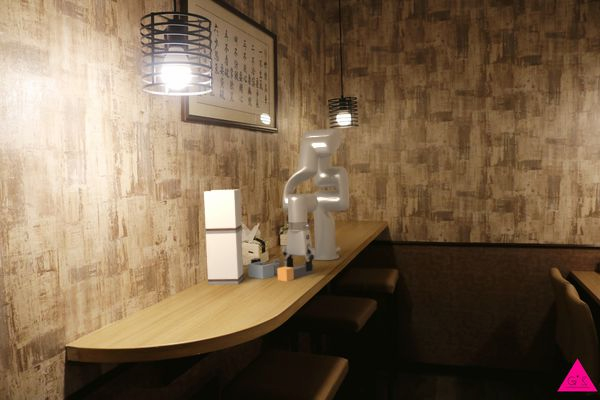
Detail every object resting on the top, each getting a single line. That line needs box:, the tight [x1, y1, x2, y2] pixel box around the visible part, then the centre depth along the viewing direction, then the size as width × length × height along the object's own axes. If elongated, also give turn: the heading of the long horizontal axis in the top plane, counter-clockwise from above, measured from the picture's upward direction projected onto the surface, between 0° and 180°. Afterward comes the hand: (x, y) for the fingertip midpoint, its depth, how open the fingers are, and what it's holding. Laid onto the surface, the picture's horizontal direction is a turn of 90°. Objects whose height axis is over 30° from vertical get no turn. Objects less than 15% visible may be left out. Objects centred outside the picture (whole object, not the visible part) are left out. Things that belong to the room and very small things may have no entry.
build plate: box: [250, 257, 262, 264], centre depth 221 cm, size 12×7×5 cm, turn 162°
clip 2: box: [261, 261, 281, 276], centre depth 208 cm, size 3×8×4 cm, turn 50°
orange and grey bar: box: [277, 263, 314, 282], centre depth 201 cm, size 17×5×5 cm, turn 140°
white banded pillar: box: [203, 188, 245, 286], centre depth 196 cm, size 11×11×35 cm
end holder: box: [247, 261, 275, 280], centre depth 204 cm, size 6×8×5 cm
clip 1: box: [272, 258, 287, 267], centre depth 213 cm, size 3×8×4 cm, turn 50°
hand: (299, 269), depth 202 cm, fingers open, 9 cm apart
